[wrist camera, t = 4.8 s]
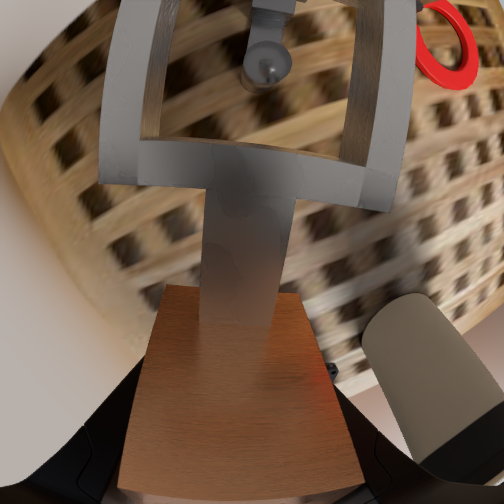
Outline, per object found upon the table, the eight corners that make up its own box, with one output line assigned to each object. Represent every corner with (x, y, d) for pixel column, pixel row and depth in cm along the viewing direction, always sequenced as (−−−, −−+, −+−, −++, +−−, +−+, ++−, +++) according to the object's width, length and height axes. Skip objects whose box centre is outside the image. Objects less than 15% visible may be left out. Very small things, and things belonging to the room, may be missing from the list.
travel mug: (343, 347, 23) (413, 530, 7) (399, 278, 20) (528, 459, 4) (394, 361, 25) (461, 500, 9) (443, 305, 23) (540, 439, 6)
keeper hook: (289, 99, 14) (311, 91, 10) (220, 88, 14) (216, 75, 10) (307, -13, 11) (329, -45, 7) (243, -25, 10) (247, -61, 6)
